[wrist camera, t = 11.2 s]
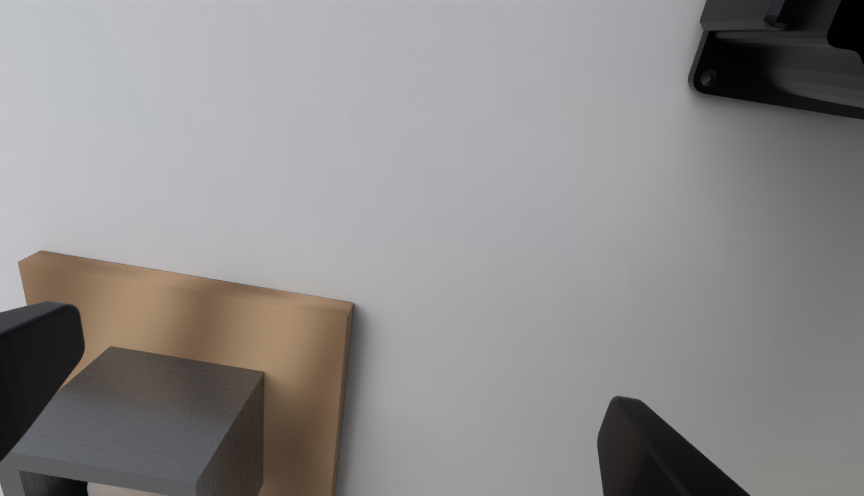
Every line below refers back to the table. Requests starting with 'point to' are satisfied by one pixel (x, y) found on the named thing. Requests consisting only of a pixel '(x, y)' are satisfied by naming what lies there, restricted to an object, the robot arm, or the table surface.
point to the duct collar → (145, 430)
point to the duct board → (220, 350)
